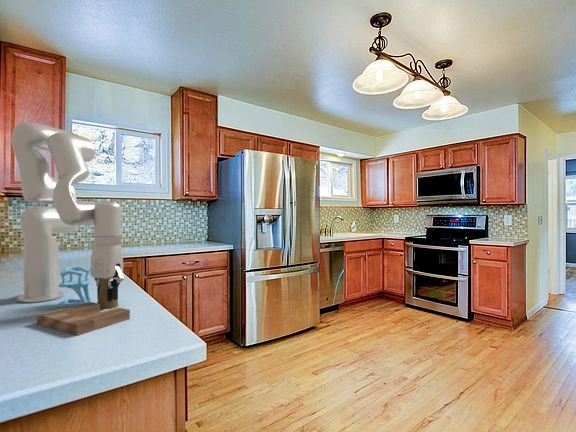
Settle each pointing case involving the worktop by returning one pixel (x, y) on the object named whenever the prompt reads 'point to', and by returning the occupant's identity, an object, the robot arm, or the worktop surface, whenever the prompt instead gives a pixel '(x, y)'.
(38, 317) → the notched board
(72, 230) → the robot arm
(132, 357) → the worktop surface
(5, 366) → the worktop surface
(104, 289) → the cork
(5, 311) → the worktop surface
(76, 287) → the chair
